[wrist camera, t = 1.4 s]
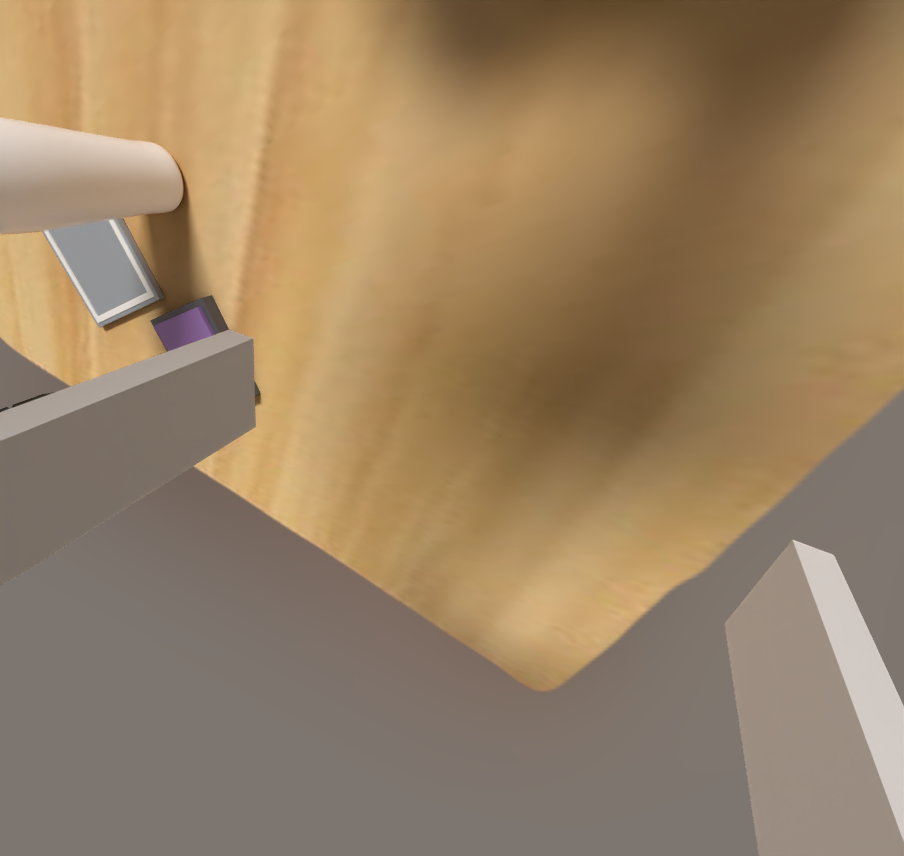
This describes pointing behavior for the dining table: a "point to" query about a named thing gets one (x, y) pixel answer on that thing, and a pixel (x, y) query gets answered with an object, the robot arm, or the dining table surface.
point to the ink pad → (190, 324)
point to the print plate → (105, 269)
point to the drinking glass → (79, 178)
